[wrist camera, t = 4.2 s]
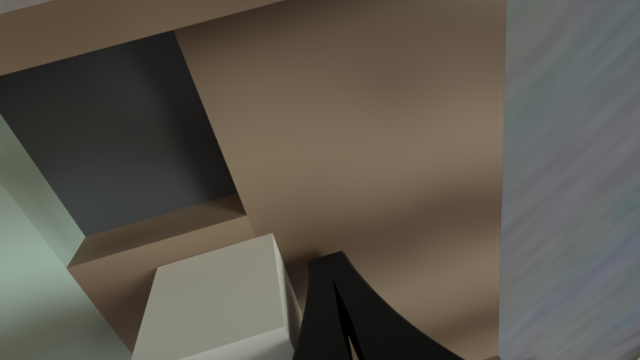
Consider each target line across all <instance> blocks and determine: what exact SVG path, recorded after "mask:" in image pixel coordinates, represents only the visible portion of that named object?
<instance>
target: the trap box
mask: <svg viewBox="0 0 640 360" xmlns="http://www.w3.org/2000/svg"><path fill="white" fill-rule="evenodd" d="M505 41H506V0H54V1H50V2H46V3H42V4H38V5H34V6H31V7H27V8H23V9H19V10H15V11H11V12H7V13H3V14H0V360H131V358H132V355H133V351H134V348H135V344H136V341H137V337H138V334H139V330H140V327H141V323H142V320H143V316H144V313H145V309H146V306H147V302H148V299H149V295H150V292H151V288H152V285H153V281H154V278H155V275H156V271H157V268H158V267H160V266H163V265H167V264H170V263H173V262H177V261H180V260H183V259H187V258H190V257H193V256H197V255H200V254H204V253H207V252H210V251H214V250H217V249H220V248H224V247H227V246H230V245H234V244H237V243H240V242H244V241H247V240H250V239H254V238H257V237H260V236H264V235H267V234H270V233H273V236H274V239H275V241H276V244H277V247H278V250H279V252H280V255H281V258H282V261H283V263H284V266H285V269H286V272H287V274H288V277H289V280H290V282H291V285H292V288H293V291H294V293H295V296H296V299H297V302H298V304H299V307H300V310H301V314H302V319H303V314H304V309H305V302H306V295H307V286H308V262H309V261H310V260H311V259H315V258H318V257H322V256H325V255H328V254H332V253H335V252H338V251H343V252H345V254H346V256H347V257H348V259H349V261H350V262H351V263H352V265H353V266H354V267H355V269H356V270H357V271H358V272H359V274H360V275H361V276H362V277H363V278H364V280H365V281H366V282H367V283H368V284H369V285H370V286H371V287H372V288H373V289H374V290H375V292H376V293H377V294H378V295H379V296H380V297H381V298H383V299H384V300H385V301H386V302H387V303H388V304H389V305H390V306H391V307H392V308H393V309H394V310H395V311H397V312H398V313H399V314H400V315H401V316H403V317H404V318H405V319H406V320H407V321H409V322H410V323H411V324H412V325H414V326H415V327H416V328H418V329H419V330H420V331H422V332H423V333H424V334H426V335H427V336H429V337H430V338H432V339H433V340H435V341H436V342H438V343H439V344H441V345H442V346H444V347H445V348H447V349H448V350H450V351H452V352H453V353H455V354H457V355H458V356H460V357H462V358H463V359H465V360H501V359H500V357H499V356H498V328H499V287H500V246H501V205H502V164H503V123H504V82H505ZM348 336H349V335H348ZM349 341H350V346H351V351H352V356H353V360H358V358H357V355H356V353H355V350H354V348H353V345H352V343H351V340H350V338H349Z"/></svg>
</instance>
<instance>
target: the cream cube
mask: <svg viewBox="0 0 640 360" xmlns="http://www.w3.org/2000/svg"><path fill="white" fill-rule="evenodd" d="M301 324H302V314H301V310H300V307H299V304H298V302H297V299H296V296H295V293H294V291H293V288H292V285H291V282H290V280H289V277H288V274H287V272H286V269H285V266H284V263H283V261H282V258H281V255H280V252H279V250H278V247H277V244H276V241H275V239H274V236H273V233H270V234H267V235H264V236H260V237H257V238H254V239H250V240H247V241H244V242H240V243H237V244H234V245H230V246H227V247H224V248H220V249H217V250H214V251H210V252H207V253H204V254H200V255H197V256H193V257H190V258H187V259H183V260H180V261H177V262H173V263H170V264H167V265H163V266H160V267H158V268H157V271H156V275H155V278H154V281H153V285H152V288H151V292H150V295H149V299H148V302H147V306H146V309H145V313H144V316H143V320H142V323H141V327H140V330H139V334H138V337H137V341H136V344H135V348H134V351H133V355H132V358H131V360H292V358H293V355H294V351H295V348H296V344H297V341H298V337H299V333H300V329H301Z"/></svg>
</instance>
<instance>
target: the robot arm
mask: <svg viewBox="0 0 640 360" xmlns="http://www.w3.org/2000/svg"><path fill="white" fill-rule="evenodd" d="M348 335H349V336H348ZM349 338H350V340H351V343H352V345H353V348H354V350H355V353H356V355H357V358H358V360H465V359H463V358H462V357H460V356H458V355H457V354H455V353H453V352H452V351H450V350H448V349H447V348H445V347H444V346H442V345H441V344H439V343H438V342H436V341H435V340H433V339H432V338H430V337H429V336H427V335H426V334H424V333H423V332H422V331H420V330H419V329H418V328H416V327H415V326H414V325H412V324H411V323H410V322H409V321H407V320H406V319H405V318H404V317H403V316H401V315H400V314H399V313H398V312H397V311H395V310H394V309H393V308H392V307H391V306H390V305H389V304H388V303H387V302H386V301H385V300H384V299H383V298H381V297H380V296H379V295H378V294H377V293H376V292H375V290H374V289H373V288H372V287H371V286H370V285H369V284H368V283H367V282H366V281H365V280H364V278H363V277H362V276H361V275H360V274H359V272H358V271H357V270H356V269H355V267H354V266H353V265H352V263H351V262H350V261H349V259H348V257H347V256H346V254H345V252H343V251H338V252H335V253H332V254H328V255H325V256H322V257H318V258H315V259H311V260H310V261H309V262H308V286H307V295H306V302H305V309H304V314H303V319H302V324H301V329H300V333H299V337H298V341H297V344H296V348H295V351H294V355H293V358H292V360H353V356H352V351H351V346H350V341H349Z"/></svg>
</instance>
